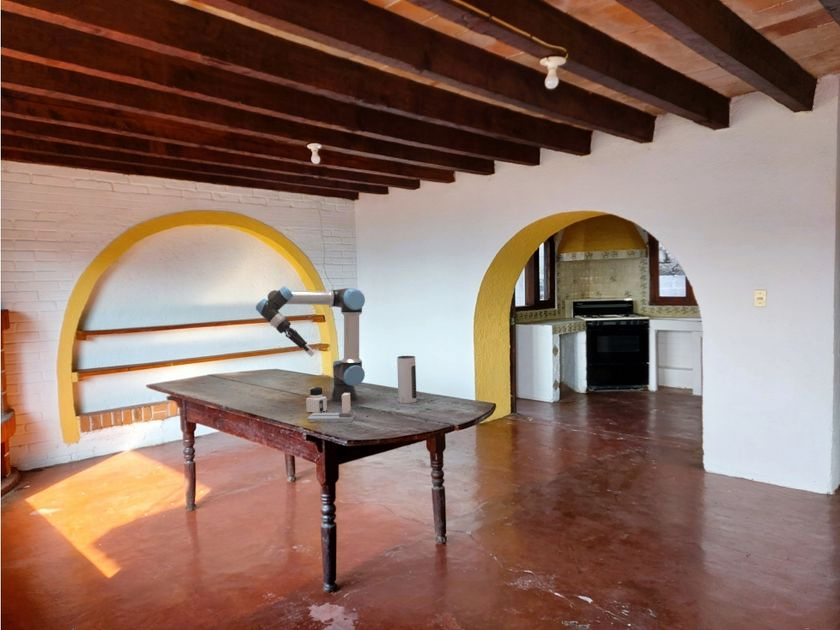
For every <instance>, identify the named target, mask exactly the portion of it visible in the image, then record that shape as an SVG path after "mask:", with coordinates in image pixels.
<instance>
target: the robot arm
mask: <svg viewBox="0 0 840 630" xmlns="http://www.w3.org/2000/svg"><path fill="white" fill-rule="evenodd" d="M365 303H366V298H365V295H364V293H363V292H362V291H361V290H360V289H357V288H355V287H353V288H347V287H345V288H341V289H329V290H328V291H325V290H323V291H322V290H320V291H316V290H314V291H313V290H312V291H311V290H310V291H309V290H290V288H288V287H287V286H282V287H281V288H279V289H278V290H276V289H275V290H271V291H269V293H268V294H267V299H266V298H262V299H261V300H260V301H259V302H257V304H256V306H255V310H256V312H258V314H260V316H261V317H263V318H264V320H266V321H267V322H268V323H269V324H270V326H271V327H274V328H276V331H278V333H280V334H285V337H286V338H288V339H289V340H290V341H291V342H293V343H294V344H295V345H296V346H297V347H299V349H300V350H301V349H302V350H304V352H306V354H307V355H309V356H310V357H312V356H314V355H315V354H316V352H315V351H314V350H313V349H312V348H311V347H310V346H309V345H308V342H307V341H305V339H304V338H303V337H302V336H301V335H300V334H299V332H298V331H297V330H296V329H294V328H292V327H291V324H292V322H290V321H289V320H288V318H287V319H286V317H285V316H284V315H283V314H282V313H281V312H280V310H281V309H282V308H283V307H284V305H309V306H311V305H314V306H315V305H318V306H319V305H321V306H322V305H323V306H325V305H326V306H327V305H328V306H329V307H331V308H333V307H334V308H340V312H341V315H343V358H342V360H341V359H340V360H333V362H332V370H333V371H332V372H333V373H332V375H333V387H332V391H331V396H330V397H331V398H330V400H331V401H332V400H333V402H339V401H342V395H343V394H344V393H350V402H352V401H356V400H357V399H358V393H357V390H356V388H355V387H356V386H358V385H360V384H362V382H363V381H364V379H365V377H366V375H365V370H364V368H363V360H362V359H361V358H360V316H361V314H362V313H363V307H364V305H365Z"/></svg>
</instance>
